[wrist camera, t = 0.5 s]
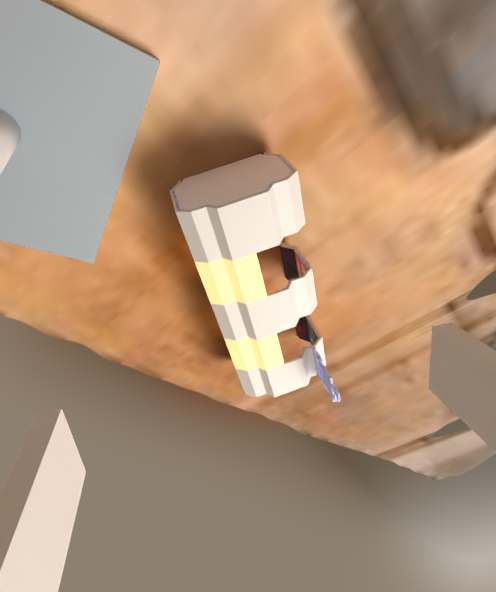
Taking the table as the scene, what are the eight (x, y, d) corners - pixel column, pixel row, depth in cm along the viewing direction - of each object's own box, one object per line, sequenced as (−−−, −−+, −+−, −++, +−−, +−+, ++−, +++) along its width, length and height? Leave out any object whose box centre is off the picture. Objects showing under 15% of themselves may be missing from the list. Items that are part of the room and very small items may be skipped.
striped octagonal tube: (307, 332, 53) (353, 413, 43) (233, 358, 52) (262, 447, 42) (274, 147, 37) (335, 207, 27) (167, 182, 36) (188, 258, 26)
